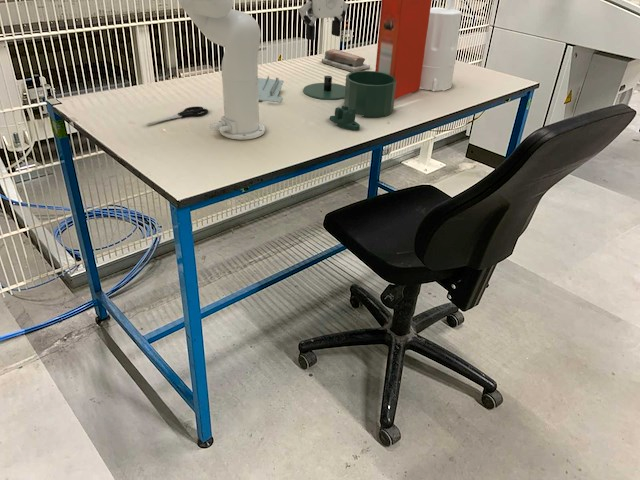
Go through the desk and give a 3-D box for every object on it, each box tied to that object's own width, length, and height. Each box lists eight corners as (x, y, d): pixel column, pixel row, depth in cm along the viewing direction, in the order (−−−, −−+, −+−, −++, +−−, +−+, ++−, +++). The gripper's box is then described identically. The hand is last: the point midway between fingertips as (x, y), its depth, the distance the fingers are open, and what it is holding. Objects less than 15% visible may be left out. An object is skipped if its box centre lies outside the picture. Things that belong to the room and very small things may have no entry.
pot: (369, 121, 158) (372, 89, 152) (333, 107, 167) (335, 76, 161) (402, 110, 167) (406, 79, 161) (366, 98, 176) (369, 68, 170)
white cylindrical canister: (437, 93, 183) (455, -11, 165) (402, 83, 191) (414, -17, 172) (458, 84, 193) (477, -15, 174) (423, 75, 201) (438, -20, 182)
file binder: (372, 95, 178) (382, -6, 160) (400, 85, 189) (412, -11, 171) (391, 101, 174) (404, -3, 156) (419, 90, 185) (433, -8, 167)
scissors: (154, 129, 145) (211, 113, 158) (153, 126, 145) (211, 110, 158) (141, 122, 149) (198, 107, 162) (140, 120, 149) (198, 104, 161)
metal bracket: (247, 70, 176) (290, 75, 174) (249, 85, 181) (291, 90, 178) (234, 95, 167) (279, 99, 165) (236, 110, 172) (280, 115, 169)
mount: (325, 121, 156) (326, 105, 153) (335, 118, 159) (336, 102, 156) (353, 132, 150) (355, 115, 147) (363, 128, 153) (364, 111, 150)
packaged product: (320, 50, 207) (337, 46, 214) (320, 62, 210) (337, 59, 216) (354, 60, 197) (371, 56, 203) (353, 73, 200) (370, 68, 206)
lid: (326, 105, 168) (327, 87, 165) (293, 91, 178) (293, 74, 175) (361, 95, 178) (362, 78, 175) (328, 83, 188) (328, 67, 185)
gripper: (309, -25, 135) (307, 43, 144) (358, -28, 144) (353, 36, 154) (292, -29, 140) (291, 38, 149) (340, -31, 149) (337, 31, 159)
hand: (323, 37), depth 151 cm, fingers open, 9 cm apart
